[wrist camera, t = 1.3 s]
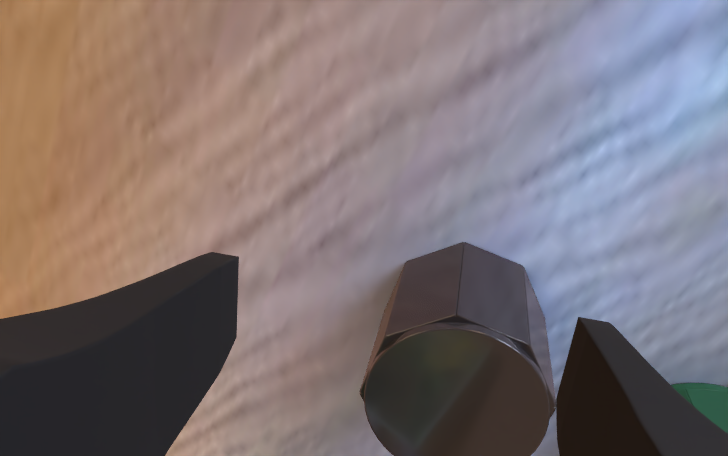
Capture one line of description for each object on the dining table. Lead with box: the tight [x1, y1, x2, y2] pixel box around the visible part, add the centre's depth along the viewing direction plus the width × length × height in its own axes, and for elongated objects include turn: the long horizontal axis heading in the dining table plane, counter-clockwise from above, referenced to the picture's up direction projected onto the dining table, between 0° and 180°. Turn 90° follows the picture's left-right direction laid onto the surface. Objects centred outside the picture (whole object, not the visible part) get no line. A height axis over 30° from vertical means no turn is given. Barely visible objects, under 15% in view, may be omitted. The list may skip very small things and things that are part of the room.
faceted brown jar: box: [360, 242, 556, 456], centre depth 22 cm, size 5×5×6 cm
